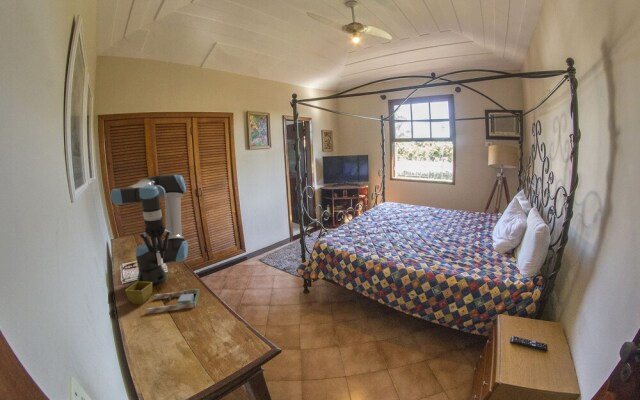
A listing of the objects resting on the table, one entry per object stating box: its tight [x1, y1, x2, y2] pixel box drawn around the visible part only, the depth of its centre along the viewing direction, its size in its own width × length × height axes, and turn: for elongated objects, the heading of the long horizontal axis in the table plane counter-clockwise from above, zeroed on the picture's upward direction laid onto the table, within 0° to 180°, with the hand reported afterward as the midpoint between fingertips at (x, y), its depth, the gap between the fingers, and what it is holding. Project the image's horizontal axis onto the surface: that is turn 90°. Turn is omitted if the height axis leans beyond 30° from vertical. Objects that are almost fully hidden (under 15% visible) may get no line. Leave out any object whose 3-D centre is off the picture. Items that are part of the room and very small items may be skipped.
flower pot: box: [124, 281, 153, 305], centre depth 146 cm, size 9×9×9 cm
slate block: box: [177, 294, 195, 304], centre depth 144 cm, size 6×6×4 cm
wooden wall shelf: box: [145, 288, 201, 315], centre depth 145 cm, size 22×13×3 cm, turn 103°
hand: (160, 264), depth 141 cm, fingers closed
